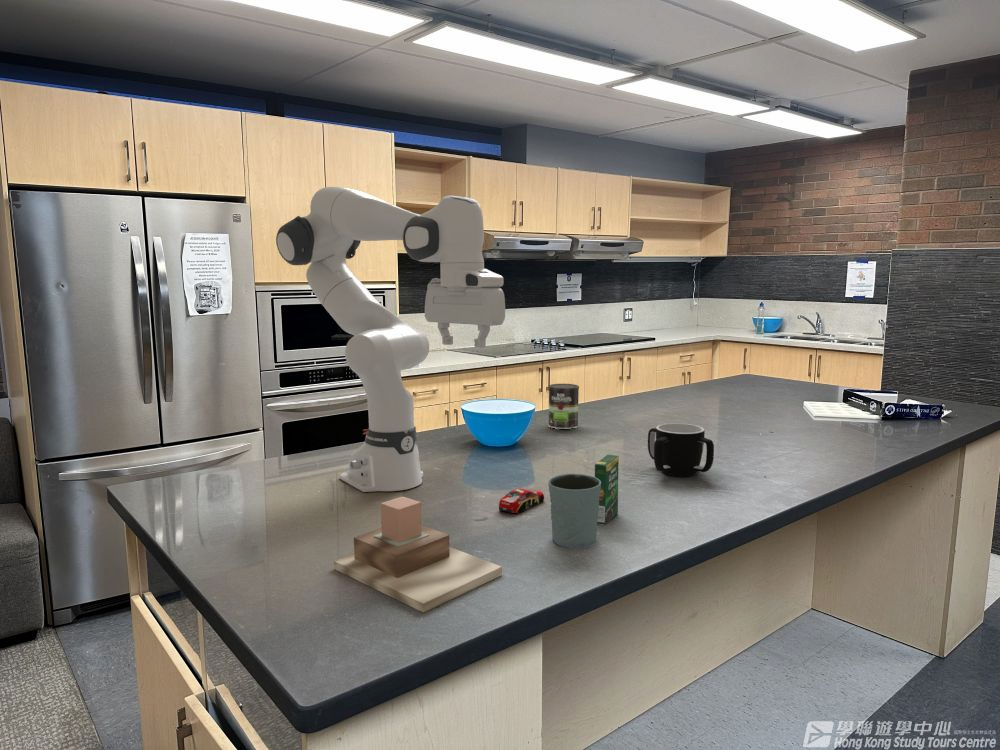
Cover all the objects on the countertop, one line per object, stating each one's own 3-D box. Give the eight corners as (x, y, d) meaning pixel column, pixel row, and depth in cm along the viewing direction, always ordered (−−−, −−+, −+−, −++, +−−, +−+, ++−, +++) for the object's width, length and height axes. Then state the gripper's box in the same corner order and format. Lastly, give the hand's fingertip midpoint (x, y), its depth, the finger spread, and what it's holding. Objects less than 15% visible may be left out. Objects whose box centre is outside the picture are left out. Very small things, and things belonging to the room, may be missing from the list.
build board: (334, 568, 122) (332, 538, 122) (412, 539, 136) (411, 512, 135) (423, 612, 106) (422, 577, 106) (502, 574, 119) (501, 543, 119)
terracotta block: (381, 535, 123) (380, 503, 122) (403, 527, 126) (402, 496, 125) (399, 542, 119) (398, 509, 118) (421, 534, 123) (420, 502, 122)
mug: (713, 483, 170) (715, 436, 168) (647, 480, 173) (648, 433, 171) (707, 465, 186) (709, 422, 184) (647, 462, 189) (648, 420, 187)
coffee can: (575, 430, 228) (576, 388, 226) (545, 429, 231) (545, 387, 229) (581, 424, 238) (581, 384, 236) (552, 422, 241) (552, 382, 239)
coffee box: (606, 526, 142) (606, 464, 140) (592, 523, 143) (593, 462, 141) (618, 514, 149) (619, 455, 147) (606, 512, 150) (607, 453, 148)
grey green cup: (595, 530, 140) (596, 473, 138) (604, 550, 130) (605, 488, 128) (545, 531, 140) (546, 473, 138) (551, 551, 130) (551, 489, 128)
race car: (529, 497, 162) (529, 480, 161) (548, 501, 159) (548, 484, 158) (494, 512, 152) (494, 494, 151) (513, 517, 148) (513, 499, 148)
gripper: (416, 278, 144) (418, 344, 146) (487, 277, 130) (488, 350, 132) (439, 277, 148) (440, 341, 150) (510, 277, 135) (510, 348, 137)
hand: (463, 346), depth 141 cm, fingers open, 8 cm apart
